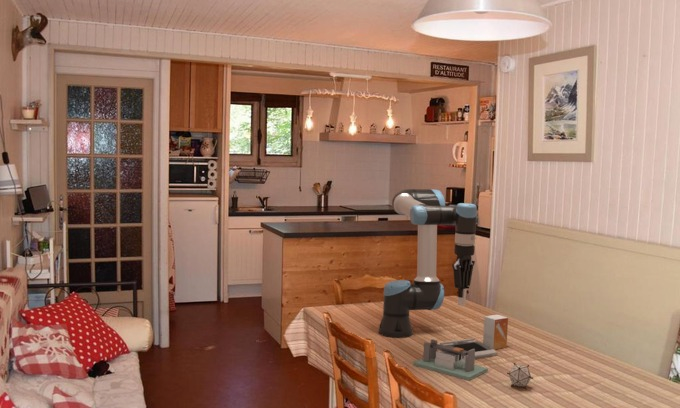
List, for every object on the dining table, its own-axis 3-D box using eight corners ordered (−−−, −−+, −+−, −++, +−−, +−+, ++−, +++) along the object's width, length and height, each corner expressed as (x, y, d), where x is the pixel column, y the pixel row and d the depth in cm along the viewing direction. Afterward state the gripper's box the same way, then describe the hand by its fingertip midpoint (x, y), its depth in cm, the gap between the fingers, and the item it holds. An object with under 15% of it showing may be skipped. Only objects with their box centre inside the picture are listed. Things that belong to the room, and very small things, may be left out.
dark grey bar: (427, 347, 255) (427, 343, 255) (431, 345, 258) (431, 341, 257) (465, 356, 245) (465, 351, 245) (469, 354, 247) (469, 350, 247)
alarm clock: (472, 338, 283) (498, 345, 268) (472, 349, 283) (498, 357, 268) (439, 342, 275) (464, 350, 260) (439, 353, 275) (464, 362, 260)
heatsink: (434, 368, 250) (435, 351, 249) (447, 363, 257) (447, 346, 256) (453, 373, 245) (453, 356, 244) (465, 367, 252) (466, 351, 251)
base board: (413, 365, 253) (414, 342, 252) (432, 357, 264) (433, 335, 263) (469, 380, 238) (470, 355, 237) (487, 371, 248) (488, 347, 248)
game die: (513, 395, 234) (501, 368, 239) (535, 387, 235) (523, 360, 239) (516, 391, 226) (504, 363, 230) (540, 382, 227) (526, 355, 231)
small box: (493, 350, 276) (494, 319, 275) (482, 346, 281) (483, 316, 280) (507, 347, 280) (508, 317, 279) (495, 343, 285) (497, 314, 284)
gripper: (464, 247, 244) (461, 310, 247) (482, 243, 254) (478, 304, 257) (447, 244, 249) (443, 306, 252) (464, 241, 259) (461, 300, 262)
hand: (461, 305), depth 254 cm, fingers closed
